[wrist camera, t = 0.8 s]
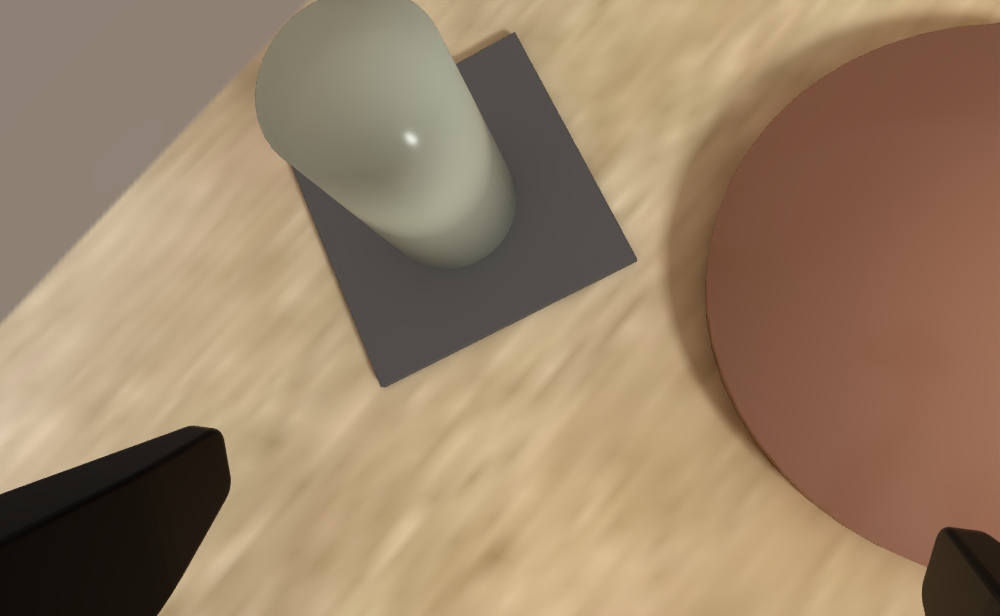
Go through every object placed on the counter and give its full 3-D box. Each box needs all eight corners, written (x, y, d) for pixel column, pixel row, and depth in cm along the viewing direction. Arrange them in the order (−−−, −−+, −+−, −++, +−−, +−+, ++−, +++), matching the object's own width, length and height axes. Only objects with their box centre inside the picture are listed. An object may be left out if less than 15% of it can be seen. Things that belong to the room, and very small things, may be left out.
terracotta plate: (882, 680, 21) (896, 693, 19) (617, 194, 25) (615, 182, 24) (1485, 428, 19) (1539, 426, 18) (1083, -45, 23) (1105, -71, 22)
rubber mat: (384, 387, 26) (380, 386, 25) (292, 160, 28) (287, 156, 28) (637, 261, 24) (636, 258, 24) (516, 38, 27) (514, 32, 27)
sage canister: (415, 293, 26) (294, 212, 17) (365, 179, 27) (229, 50, 18) (539, 229, 25) (480, 113, 16) (482, 116, 26) (399, -48, 18)
